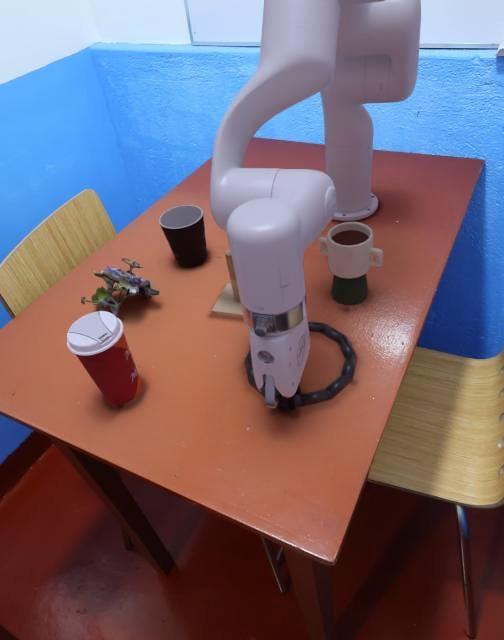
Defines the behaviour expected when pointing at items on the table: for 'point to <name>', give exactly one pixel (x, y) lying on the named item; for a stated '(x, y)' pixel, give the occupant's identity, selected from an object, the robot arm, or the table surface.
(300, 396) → the ring
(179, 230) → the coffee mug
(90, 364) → the paper cup
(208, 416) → the table surface
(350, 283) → the white handled cup
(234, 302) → the post
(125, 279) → the passion flower
